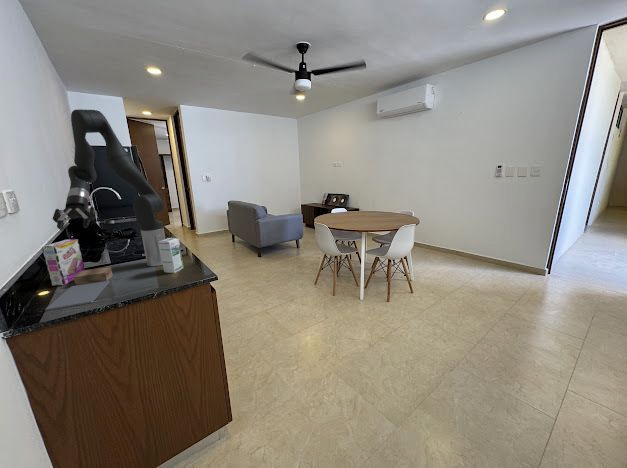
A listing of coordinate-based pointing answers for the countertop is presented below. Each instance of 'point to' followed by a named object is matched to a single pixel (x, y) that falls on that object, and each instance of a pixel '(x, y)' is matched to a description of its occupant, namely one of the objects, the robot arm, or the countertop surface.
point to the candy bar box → (63, 261)
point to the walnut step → (93, 276)
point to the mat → (78, 295)
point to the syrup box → (171, 255)
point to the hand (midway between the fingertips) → (72, 228)
